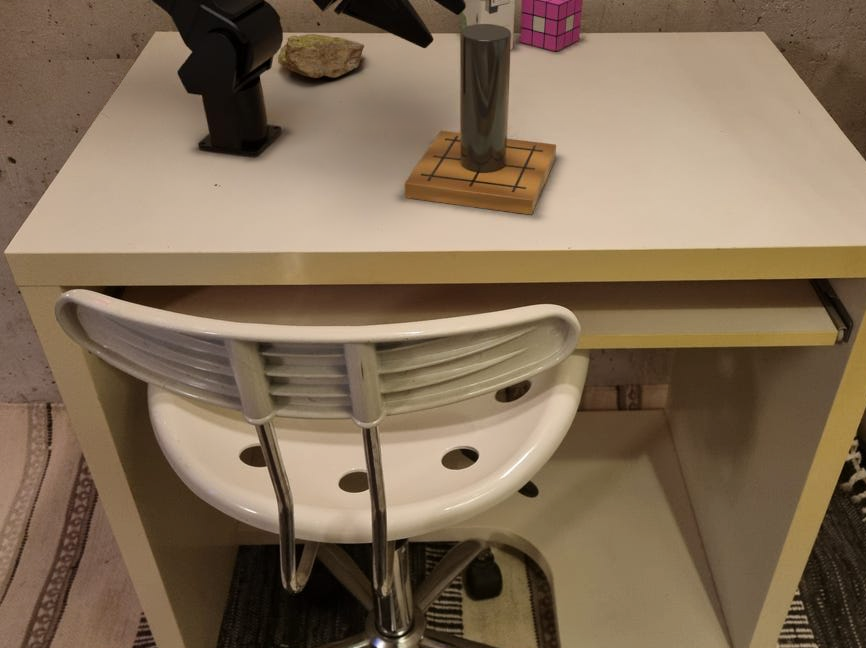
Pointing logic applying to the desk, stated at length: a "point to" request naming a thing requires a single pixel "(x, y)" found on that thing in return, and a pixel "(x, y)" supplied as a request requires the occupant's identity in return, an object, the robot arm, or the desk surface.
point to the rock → (320, 55)
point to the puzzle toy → (550, 23)
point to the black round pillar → (484, 96)
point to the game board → (482, 176)
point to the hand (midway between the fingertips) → (446, 27)
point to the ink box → (489, 14)
